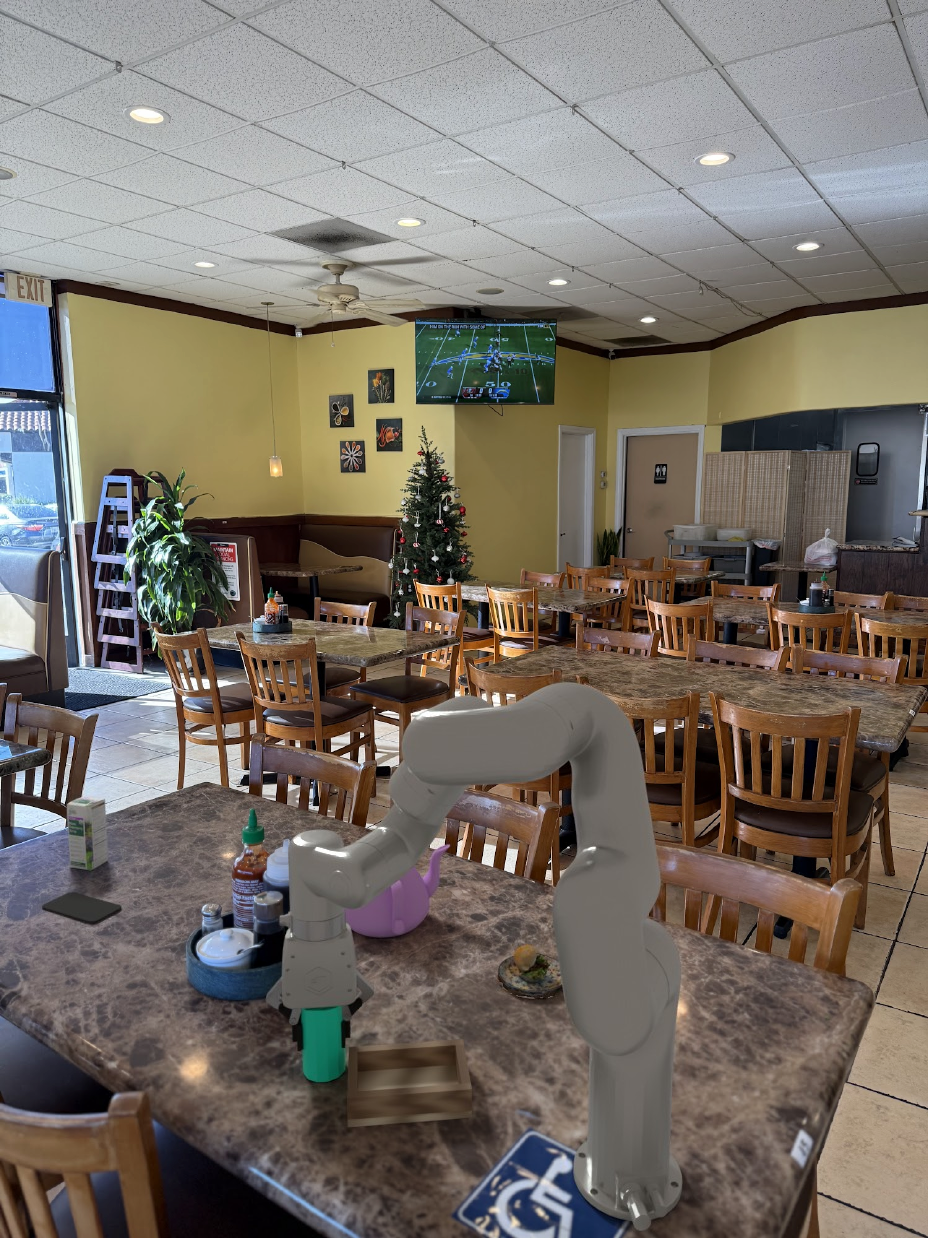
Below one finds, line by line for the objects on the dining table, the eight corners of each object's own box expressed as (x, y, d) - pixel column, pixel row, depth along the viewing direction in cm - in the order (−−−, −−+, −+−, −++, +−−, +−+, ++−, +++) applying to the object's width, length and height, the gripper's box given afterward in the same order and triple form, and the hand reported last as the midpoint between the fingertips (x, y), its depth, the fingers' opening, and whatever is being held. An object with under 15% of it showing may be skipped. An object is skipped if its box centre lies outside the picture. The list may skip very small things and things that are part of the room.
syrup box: (68, 868, 185) (64, 804, 183) (88, 857, 191) (84, 795, 189) (90, 871, 183) (86, 806, 181) (109, 860, 189) (105, 797, 187)
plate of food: (564, 1005, 136) (565, 962, 135) (491, 996, 138) (492, 953, 137) (570, 966, 148) (571, 925, 146) (503, 958, 150) (503, 918, 149)
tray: (462, 1062, 122) (462, 1038, 121) (472, 1117, 111) (472, 1091, 110) (349, 1070, 120) (348, 1045, 119) (347, 1127, 109) (347, 1100, 108)
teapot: (470, 936, 157) (470, 865, 155) (355, 959, 149) (353, 884, 147) (430, 886, 177) (430, 822, 175) (327, 904, 169) (325, 837, 167)
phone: (71, 891, 174) (124, 906, 167) (71, 894, 174) (124, 910, 167) (38, 906, 167) (92, 922, 160) (39, 910, 167) (93, 927, 160)
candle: (326, 1049, 124) (324, 972, 123) (354, 1066, 120) (352, 987, 119) (294, 1070, 120) (291, 990, 118) (322, 1088, 116) (319, 1006, 114)
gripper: (251, 939, 113) (256, 1066, 115) (381, 931, 115) (383, 1056, 117) (258, 912, 120) (263, 1032, 122) (380, 905, 122) (382, 1023, 124)
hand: (322, 1042), depth 120 cm, fingers closed on candle, 5 cm apart
